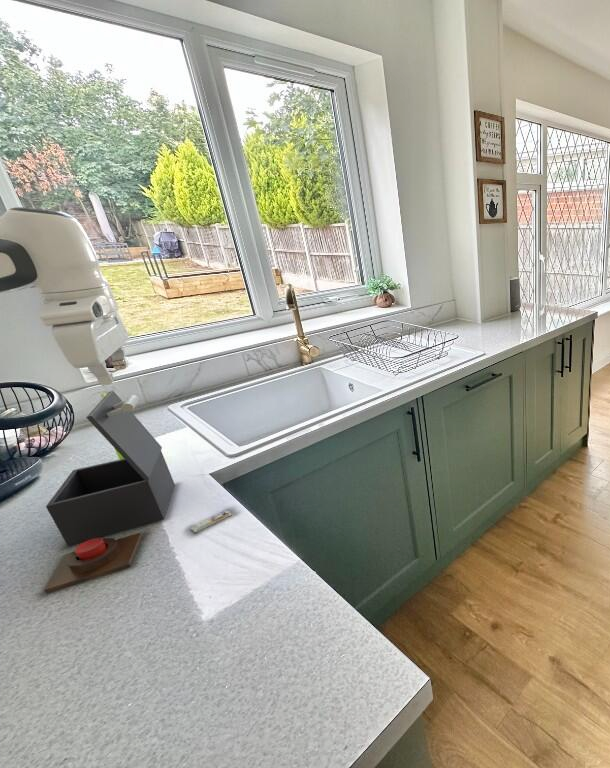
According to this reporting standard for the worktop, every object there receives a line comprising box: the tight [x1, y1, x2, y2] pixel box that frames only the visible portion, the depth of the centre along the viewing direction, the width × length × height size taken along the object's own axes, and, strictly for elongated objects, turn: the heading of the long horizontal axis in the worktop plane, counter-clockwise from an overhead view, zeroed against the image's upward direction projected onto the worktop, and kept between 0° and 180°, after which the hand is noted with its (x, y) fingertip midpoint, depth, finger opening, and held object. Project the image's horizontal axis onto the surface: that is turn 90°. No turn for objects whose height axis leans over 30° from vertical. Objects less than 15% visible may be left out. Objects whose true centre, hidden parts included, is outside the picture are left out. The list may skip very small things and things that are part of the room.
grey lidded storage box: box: [45, 451, 176, 548], centre depth 85 cm, size 15×14×10 cm
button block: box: [43, 532, 143, 595], centre depth 74 cm, size 11×9×3 cm
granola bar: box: [189, 510, 232, 533], centre depth 84 cm, size 7×2×1 cm, turn 142°
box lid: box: [86, 390, 163, 480], centre depth 83 cm, size 15×14×5 cm
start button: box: [74, 537, 106, 560], centre depth 73 cm, size 4×4×2 cm
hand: (115, 375), depth 80 cm, fingers open, 8 cm apart
